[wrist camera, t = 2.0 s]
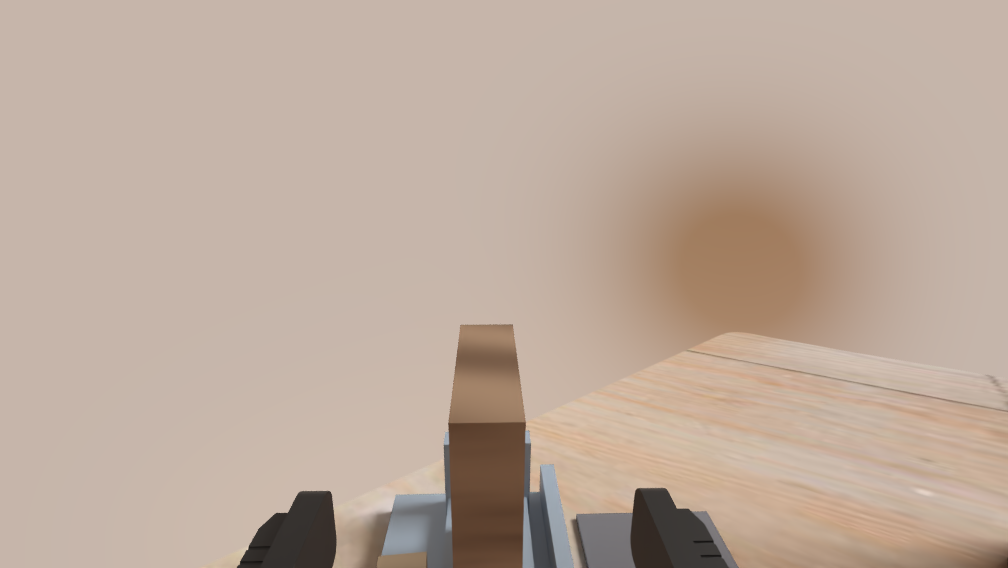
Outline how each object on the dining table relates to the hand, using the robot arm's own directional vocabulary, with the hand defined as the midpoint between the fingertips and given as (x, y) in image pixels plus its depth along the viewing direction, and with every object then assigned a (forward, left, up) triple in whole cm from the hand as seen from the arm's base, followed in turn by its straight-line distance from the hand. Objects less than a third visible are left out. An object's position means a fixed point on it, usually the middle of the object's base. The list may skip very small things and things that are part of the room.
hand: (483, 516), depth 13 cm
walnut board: (-8, -8, -17) cm, 21 cm away
